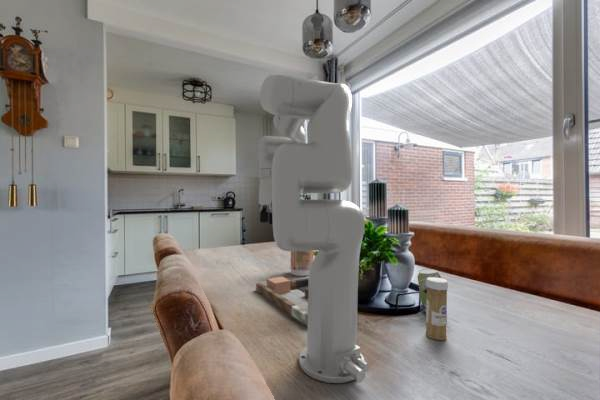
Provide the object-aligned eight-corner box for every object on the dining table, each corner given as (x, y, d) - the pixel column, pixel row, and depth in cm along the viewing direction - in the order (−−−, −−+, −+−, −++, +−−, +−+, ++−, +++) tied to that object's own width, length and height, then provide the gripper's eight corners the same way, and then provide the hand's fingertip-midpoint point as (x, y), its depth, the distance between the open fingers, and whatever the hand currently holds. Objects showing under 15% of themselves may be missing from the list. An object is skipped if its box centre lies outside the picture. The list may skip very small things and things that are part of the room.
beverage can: (448, 318, 76) (449, 274, 76) (419, 315, 78) (420, 272, 77) (441, 309, 82) (442, 268, 82) (414, 307, 84) (415, 267, 84)
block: (290, 292, 96) (290, 280, 96) (274, 295, 92) (274, 283, 92) (281, 287, 101) (281, 276, 101) (266, 290, 97) (266, 278, 97)
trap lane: (369, 310, 81) (369, 299, 81) (307, 327, 69) (307, 315, 69) (308, 281, 108) (308, 273, 108) (256, 290, 97) (256, 281, 97)
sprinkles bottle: (440, 343, 63) (441, 283, 63) (421, 335, 66) (422, 278, 66) (450, 337, 65) (451, 279, 65) (431, 329, 69) (432, 275, 69)
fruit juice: (285, 273, 120) (286, 207, 119) (301, 269, 126) (302, 207, 126) (301, 277, 113) (302, 208, 113) (317, 273, 119) (318, 208, 119)
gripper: (289, 173, 98) (289, 224, 98) (268, 176, 113) (267, 220, 113) (270, 172, 94) (269, 225, 94) (250, 175, 109) (250, 221, 109)
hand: (268, 222), depth 104 cm, fingers open, 6 cm apart
